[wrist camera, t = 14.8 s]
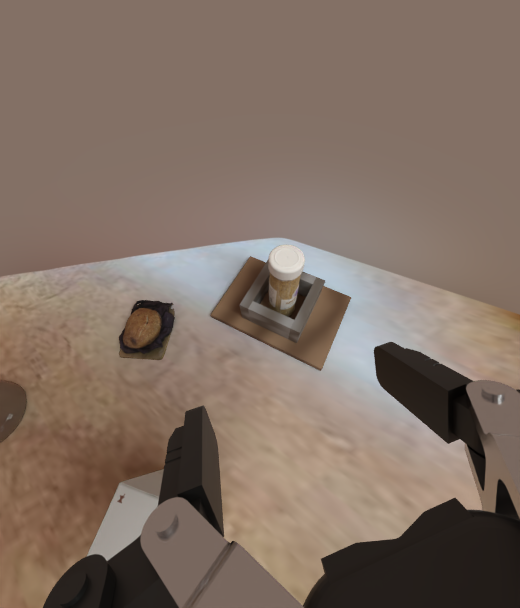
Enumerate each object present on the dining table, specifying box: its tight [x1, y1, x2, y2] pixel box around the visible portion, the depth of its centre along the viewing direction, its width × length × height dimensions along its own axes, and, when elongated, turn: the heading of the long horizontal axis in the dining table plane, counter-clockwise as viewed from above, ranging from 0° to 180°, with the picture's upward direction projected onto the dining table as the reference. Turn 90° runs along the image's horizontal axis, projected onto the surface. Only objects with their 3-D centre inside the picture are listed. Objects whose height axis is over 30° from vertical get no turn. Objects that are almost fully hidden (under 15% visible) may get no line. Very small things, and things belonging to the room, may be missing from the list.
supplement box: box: [87, 469, 164, 561], centre depth 26 cm, size 7×7×13 cm
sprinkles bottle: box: [268, 245, 305, 317], centre depth 37 cm, size 5×5×14 cm
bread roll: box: [119, 300, 175, 360], centre depth 42 cm, size 11×8×4 cm
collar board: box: [211, 256, 351, 371], centre depth 42 cm, size 20×14×6 cm
